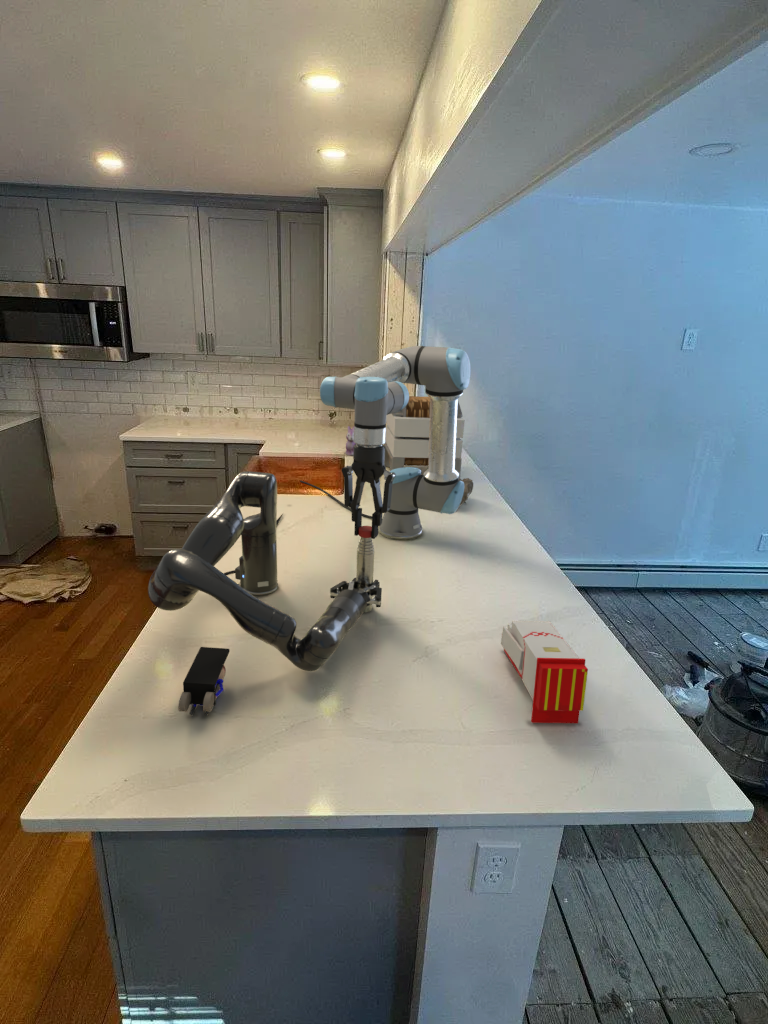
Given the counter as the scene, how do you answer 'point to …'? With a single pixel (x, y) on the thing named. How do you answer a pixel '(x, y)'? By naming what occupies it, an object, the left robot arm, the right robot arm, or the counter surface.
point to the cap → (365, 531)
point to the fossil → (466, 489)
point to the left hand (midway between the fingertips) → (368, 581)
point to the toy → (547, 670)
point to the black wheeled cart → (204, 680)
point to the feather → (278, 519)
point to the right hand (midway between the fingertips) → (366, 535)
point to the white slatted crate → (415, 435)
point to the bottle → (365, 566)
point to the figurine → (350, 441)
